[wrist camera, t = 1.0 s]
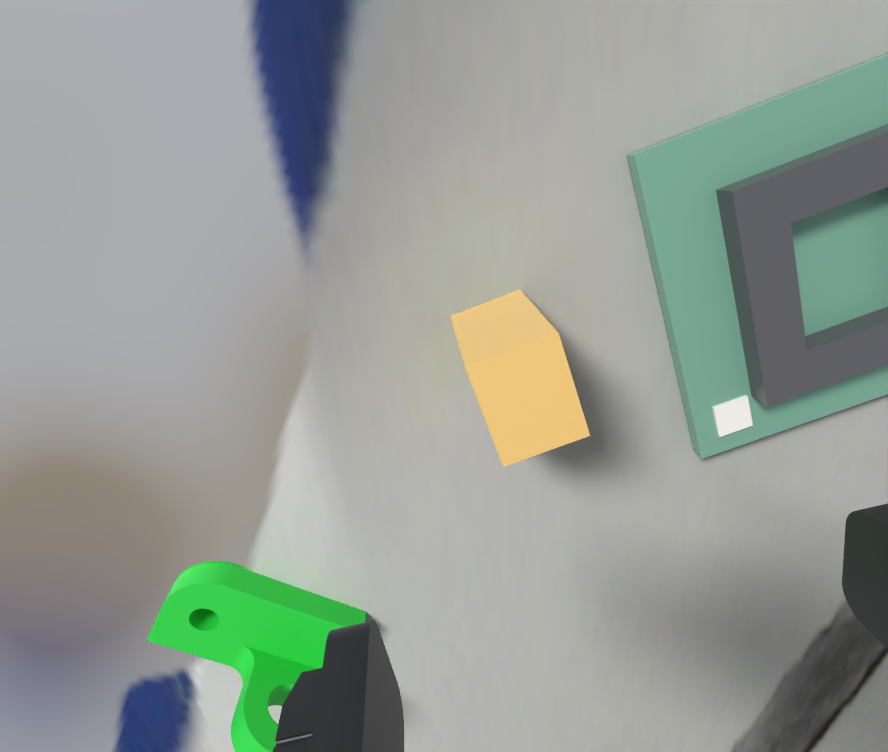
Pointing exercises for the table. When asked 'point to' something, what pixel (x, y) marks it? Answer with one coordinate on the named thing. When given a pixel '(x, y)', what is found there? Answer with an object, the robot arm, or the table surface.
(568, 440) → the amber plug
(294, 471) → the table surface
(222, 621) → the mechanical part
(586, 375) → the table surface
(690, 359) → the socket board
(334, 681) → the robot arm
